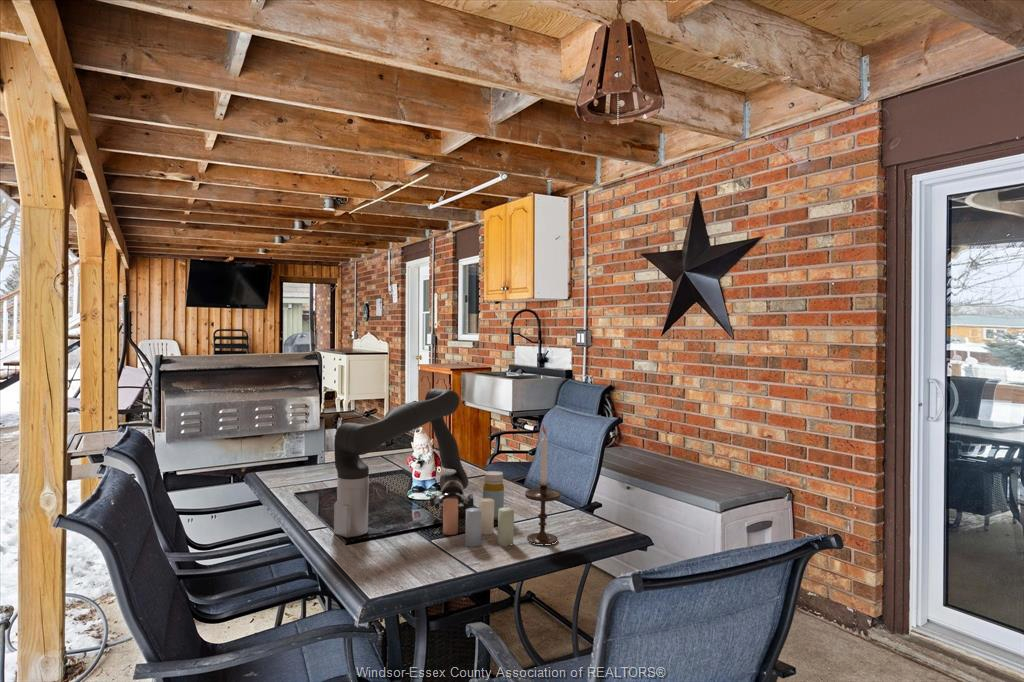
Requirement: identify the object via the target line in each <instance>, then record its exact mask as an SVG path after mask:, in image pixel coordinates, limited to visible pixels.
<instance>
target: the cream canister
mask: <svg viewBox="0 0 1024 682" xmlns="http://www.w3.org/2000/svg"><path fill="white" fill-rule="evenodd" d="M478 508H479V509H481V510H482V514H481V535H482V534H485V535H484V536H488V535H487V534H490V535H493V534H494V531H495V530H494V528H495V527H494V525H495V523H494V522H495V521H494V500H493V499H490V498H483V497H482V498H480V499H478ZM492 533H493V534H492Z"/></svg>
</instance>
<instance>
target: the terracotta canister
mask: <svg viewBox="0 0 1024 682" xmlns="http://www.w3.org/2000/svg"><path fill="white" fill-rule="evenodd" d="M458 533H459V506H458V499H455V498H447V499H444V500H443V507H442V534H443V535H447V536H453V535H457V534H458Z"/></svg>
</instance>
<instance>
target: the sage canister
mask: <svg viewBox="0 0 1024 682" xmlns="http://www.w3.org/2000/svg"><path fill="white" fill-rule="evenodd" d="M514 521H515V509H514V508H511V507H504V508H500V509H498V520H497V545H498V544H499V545H498V546H500V545H502V546H501V547H509V546H508V545H511V544H513V545H514V530H515V529H514V528H515V525H514V524H515V522H514Z"/></svg>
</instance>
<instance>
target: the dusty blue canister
mask: <svg viewBox="0 0 1024 682" xmlns="http://www.w3.org/2000/svg"><path fill="white" fill-rule="evenodd" d="M481 514H482V510H481V509H479V507H468V508H466V510H465V527H464V528H465V531H464V533H465V535H464V537H465V539H464V545H465V546H466V547H468V546H469V548H477V547H476V546H478V547H480V546H481V545H482V534H481Z"/></svg>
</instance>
